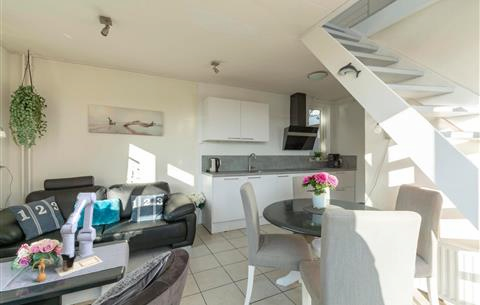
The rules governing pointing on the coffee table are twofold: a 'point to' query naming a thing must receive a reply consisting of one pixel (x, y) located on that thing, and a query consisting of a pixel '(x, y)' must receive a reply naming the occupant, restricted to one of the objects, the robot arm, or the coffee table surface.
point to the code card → (80, 265)
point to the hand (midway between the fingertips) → (67, 265)
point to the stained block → (66, 266)
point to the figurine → (41, 275)
